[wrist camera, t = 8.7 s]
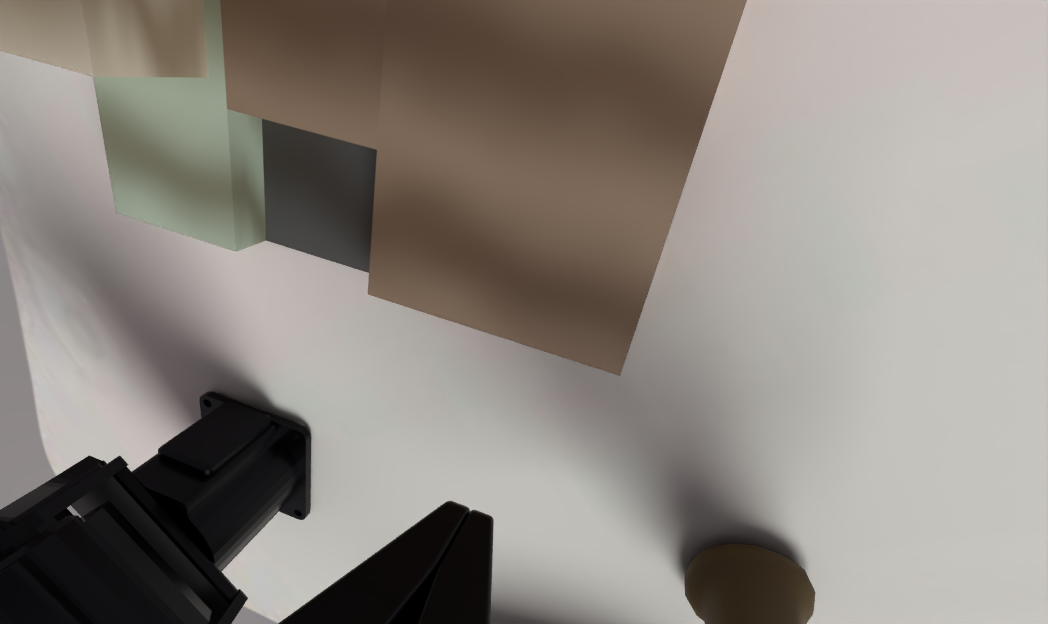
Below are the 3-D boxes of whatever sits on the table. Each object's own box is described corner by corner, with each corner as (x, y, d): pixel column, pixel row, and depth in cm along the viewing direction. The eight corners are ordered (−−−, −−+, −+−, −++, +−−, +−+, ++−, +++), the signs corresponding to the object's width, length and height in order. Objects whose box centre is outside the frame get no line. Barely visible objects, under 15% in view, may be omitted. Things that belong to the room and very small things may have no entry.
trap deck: (625, 349, 20) (619, 375, 18) (158, 202, 24) (116, 212, 22) (825, -247, 12) (848, -301, 11) (89, -327, 16) (16, -377, 14)
